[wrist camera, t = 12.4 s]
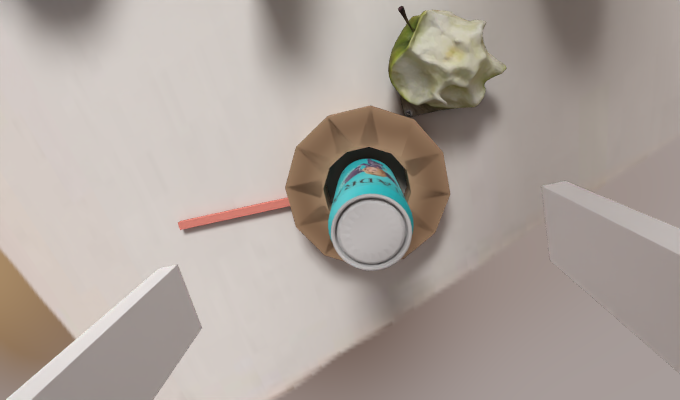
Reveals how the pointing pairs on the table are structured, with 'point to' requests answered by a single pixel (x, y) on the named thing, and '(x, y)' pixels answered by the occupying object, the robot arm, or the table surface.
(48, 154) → the table surface
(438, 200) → the tan flat ring
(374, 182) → the beverage can
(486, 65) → the fruit
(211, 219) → the stick
